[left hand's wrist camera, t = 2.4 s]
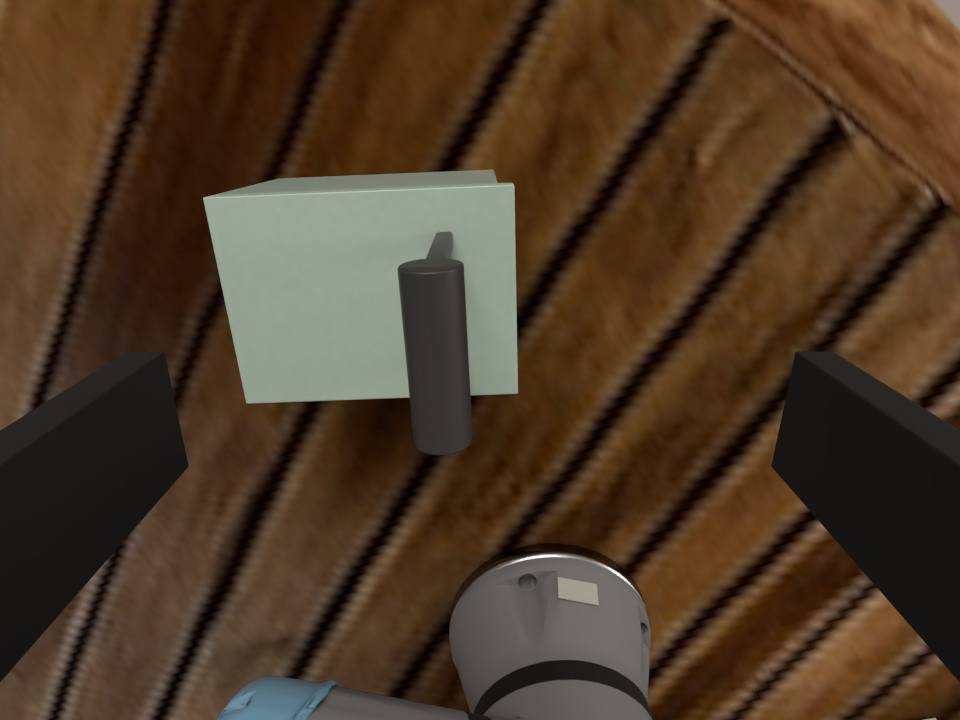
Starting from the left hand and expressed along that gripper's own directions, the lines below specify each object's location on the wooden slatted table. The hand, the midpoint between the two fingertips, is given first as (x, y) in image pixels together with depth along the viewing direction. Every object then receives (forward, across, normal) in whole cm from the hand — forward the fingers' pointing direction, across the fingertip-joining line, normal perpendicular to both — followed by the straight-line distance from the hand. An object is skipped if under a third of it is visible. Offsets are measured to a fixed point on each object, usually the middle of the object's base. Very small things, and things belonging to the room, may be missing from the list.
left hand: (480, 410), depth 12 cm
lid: (+15, +5, +2) cm, 16 cm away
